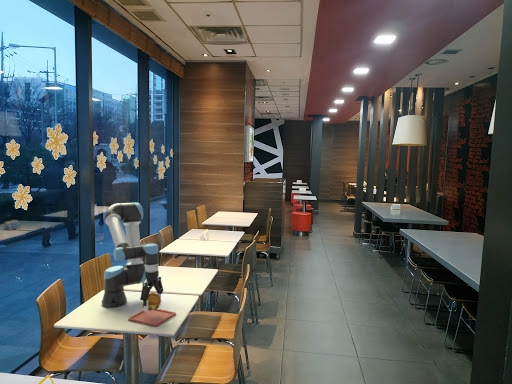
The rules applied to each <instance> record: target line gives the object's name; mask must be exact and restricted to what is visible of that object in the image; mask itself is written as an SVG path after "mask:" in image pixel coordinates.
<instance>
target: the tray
mask: <svg viewBox="0 0 512 384" xmlns="http://www.w3.org/2000/svg"><path fill="white" fill-rule="evenodd" d="M176 314H177V313H176V312H175V311H169V310H165V309H160V308H158V309H155V310H150V311H148V312H146V311H144V309H143V310H141V311H139V312H137V313H135V314H134V315H131V316H129V317H128V318H127V320H128V321H129V322H133V323H137V324H141V325H146V326H149V327H153V328H155V327H156V328H157V327H160V325H162V324H163V323H165V322H167V321H168V320H170V319H171V318H173V317H176Z"/></svg>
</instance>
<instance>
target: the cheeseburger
mask: <svg viewBox="0 0 512 384" xmlns="http://www.w3.org/2000/svg"><path fill="white" fill-rule="evenodd" d="M147 300H148V311H150V310H155V309H160V308H159V307H160V306H161V305H160V303H161V304H162V297H161V298H160V297H159V296H158V295H157V292H150V293H149V296H148V299H147ZM141 305H142V308H143V310H144V306H143V301H142V303H141Z"/></svg>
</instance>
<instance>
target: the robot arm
mask: <svg viewBox="0 0 512 384" xmlns="http://www.w3.org/2000/svg"><path fill="white" fill-rule="evenodd" d="M143 219H144V208H143V207H142V205H141V203H139V202H125V203H124V202H122V203H121V202H120V203H114V204H112V205H110V206H109V207H108V208H107V209H106V211H105V212H104V222H105V224H106V226H108V229H109V232H110V234H111V238H112V242H113V244H114V247H115V248H114V249H113V258H114V261H116V262H120V261H121V262H122V261H127V262H126V263H125V267H124V266H123V265H115V266H110V267H108V268H107V269H105V270H104V272H103V273H104V275H103V283H104V284H103V286H104V293H103V297H102V300H101V306H102V307H104V308H109V309H110V308H118V307H122V306H124V305H127V302H128V298H127V296H126V293H125V288H124V287H126V286H132V285H139V284H142V288H141V292H140V299H139V300H140V301H142V302H143V305H142V307H143V306H144V309H143V310H144V311H146V312H148V300H147V299H148V296H149V294H150V293H151V290H152V289H153V288H154V290H155V291H156V294H157V295H158V296H159V297H160V298H161V299H162V294H163V292H164V286H163V283H162V276H159V274H160V272H159V245H158V244H157V243H141V237H140V224H141V222H142V220H143ZM121 221H122V222H121ZM122 224H123V225H124V226H125V230H124V227H123V225H122ZM143 258H144V261H143V260H142V259H143ZM161 304H162V302H161V303H160V306H161Z"/></svg>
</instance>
